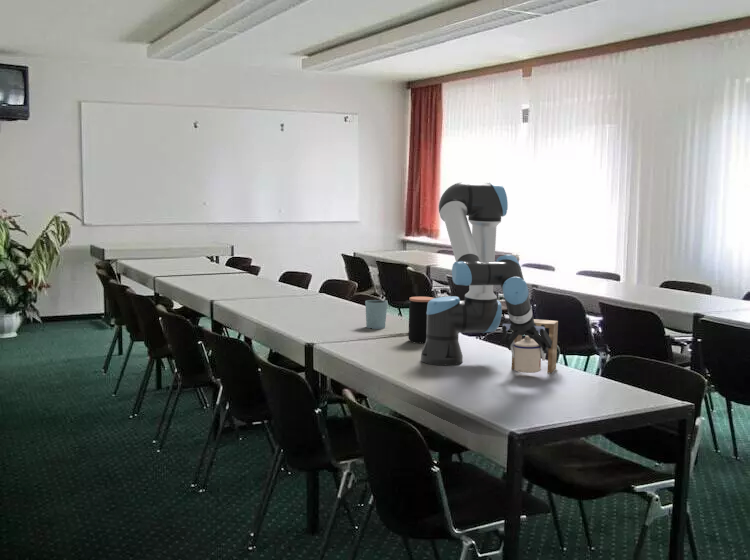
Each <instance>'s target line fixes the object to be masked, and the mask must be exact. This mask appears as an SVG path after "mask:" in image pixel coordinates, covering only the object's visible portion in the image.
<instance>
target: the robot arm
mask: <svg viewBox="0 0 750 560" xmlns="http://www.w3.org/2000/svg"><path fill="white" fill-rule="evenodd" d="M508 205H509V203H508V196H507V193H506V190H505V187H504V186H503V185H502V184H500V183H495V182H493V183H492V182H463V181H462V182H457V183H454V184H452V185H450V186H449V187H448V188H446V189H445V191H444V192H443V193H442V194H441V197H440V199H439V202H438V213H439V217H440V219H441V220H442V221H443V222H444V224H445V227H446V231H447V234H448V238H449V242H450V245H451V249H452V252H453V256H454V259H455V262H454V263H453V264H452V266H451V276H452V277H451V279H452V282H453V284H454V285H457V286H465V287H466V286H469V287H468V289H469V290H468V292H466V293H465V294H464V300H461V299H460V297H459V296H456V295H454V296H452V295H451V296H450V295H449V296H448V295H447V296H439V297H433V298H434V299H431V300H430V301H429V302H428V305H427V312H426V314H427V329H426V342H425V343H424V346H423V348H422V351H421V353H420V361H421V362H422V363H424V364H428V365H434V366H452V365H453V366H454V365H455V366H456V365H459V364H460V365H461V364H462V363H463V361H464V360H463V359H464V357H463V352H462V349H461V345H460V343H459V334H461V333H463V334H464V333H481V334H485V333H492V332H495V331H497V329H498V328H499V326H500V324H501V320H502V317H503V316H502V315H503V314H502V313H503V309H502V303H501V301H500V300H498V297H497V296H498V295H496V293H494V286H500V288H501V291H502V295H503V297H504V301H505V305H506V311H507V314H508V319H509V323H508V322H507V321H502V327H501V330H502V336H501V340H500V341H501V343H500V344H501V345H506V347H507V350H508V351H511V357H512V356H513V358H515V346H514V344H515V342H514V340H515V338H516V337H517V336H518V335H522V336H529V337H530V338H531V339H533V340H534V341H535V342H536V343H537V344H539V345H540V346H541V348H540V350H541V360H542V361H546V356H547V355H548V348H551V346H552V340H551V338H550V337H549V332H547V330H546V328H545V325H541V326H536V324H535V323H534V319H535V318H534V314H533V309H532V305H531V299H530V294H529V293H530V292H529V288H528V285H527V282H526V280H525V279H524V275H523V272H522V268H521V267H522V266H521V265H520V263H519V260H518V259H517V257H516V256H514V255H513V254H504V255H500V256H499V257H497V259H496V258H495V257H496V243H497V227H498V225H499V224H500V223H501V222H502V218H503V217H505V216H507V213H508V207H509V206H508ZM469 223H470V224H471V226H472V227H470V224H469ZM495 259H496V260H495ZM510 329H511V331H512V333H510V335H509V336H508V335H507V334H508V332H509V330H510ZM507 336H508V338H507ZM542 361H541V362H542Z"/></svg>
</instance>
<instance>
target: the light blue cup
mask: <svg viewBox="0 0 750 560" xmlns="http://www.w3.org/2000/svg"><path fill="white" fill-rule="evenodd" d="M364 303H365V320H366V322H365V326H366V328H367V329H370V328H372V329H371V330H383V329H385V328H386V322H387V311H388V310H387V309H388V300H381V299H367V300H365V302H364ZM382 328H383V329H382Z"/></svg>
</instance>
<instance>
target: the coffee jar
mask: <svg viewBox="0 0 750 560" xmlns="http://www.w3.org/2000/svg"><path fill="white" fill-rule="evenodd" d="M434 298H435V297H430V296H411V297H409V301H410V302H409V304H408V306H409V308H408V336H407V337H408V340H409V342H410V341H411V342H410V343H413V342H415V343H414V344H425V342H426V329H427V314H426V312H427V305H428V302H429V301H430V300H431V299H434Z"/></svg>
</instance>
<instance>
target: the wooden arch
mask: <svg viewBox="0 0 750 560" xmlns="http://www.w3.org/2000/svg"><path fill="white" fill-rule="evenodd" d="M534 323H535V324H536V326H541V325H545V329H548V335H549V337H550V338H551V340H552V346H551V348H548V352H547V373H548V374H553V372H555V370H556V369H557V356H558V355H557V354H558V352H557V350H558V349H557V348H558V331H559V320H551V319H550V320H549V319H539V318H536V319H535V318H534ZM522 339H523V335H518V336H517V337H516V338H515V340H514V342H515V343H516V342H519V341H521V340H522ZM511 370H515V358H513V356H512V355H511Z"/></svg>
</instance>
